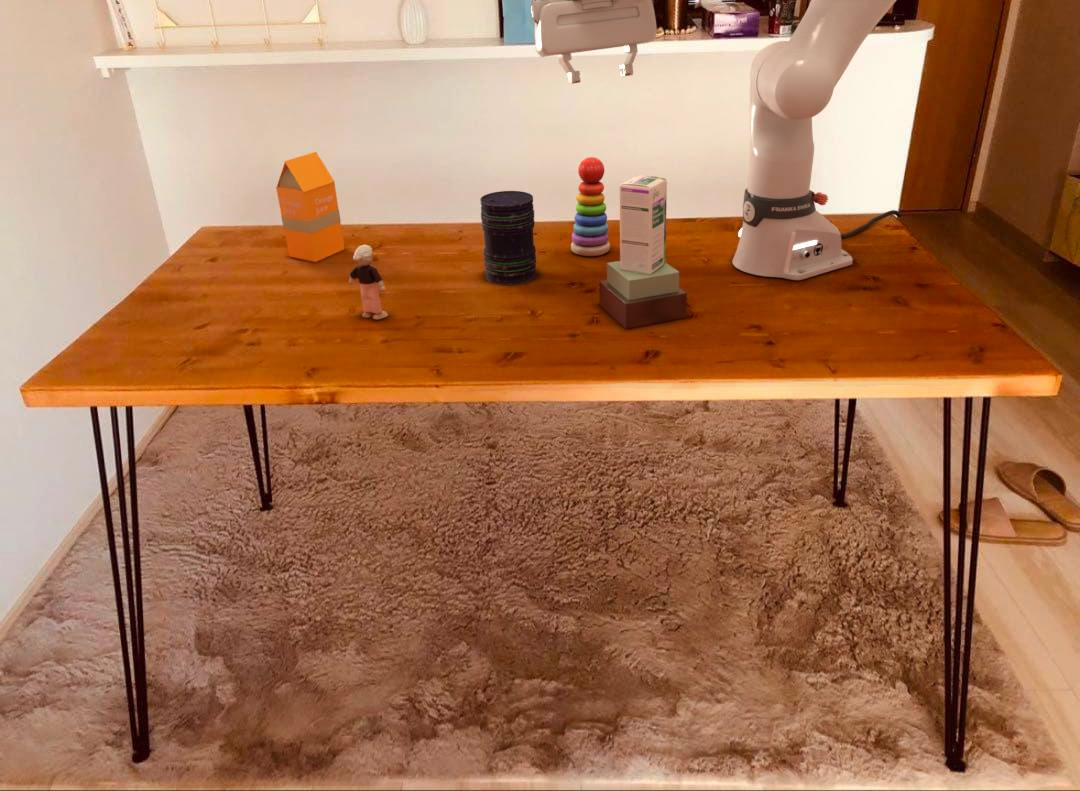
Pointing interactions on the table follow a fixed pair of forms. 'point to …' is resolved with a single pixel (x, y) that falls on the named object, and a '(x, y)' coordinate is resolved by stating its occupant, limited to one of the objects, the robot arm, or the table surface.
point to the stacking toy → (590, 211)
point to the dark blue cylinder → (508, 237)
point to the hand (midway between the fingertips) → (601, 79)
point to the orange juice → (309, 209)
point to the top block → (643, 281)
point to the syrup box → (643, 224)
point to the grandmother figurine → (368, 283)
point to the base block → (642, 307)
